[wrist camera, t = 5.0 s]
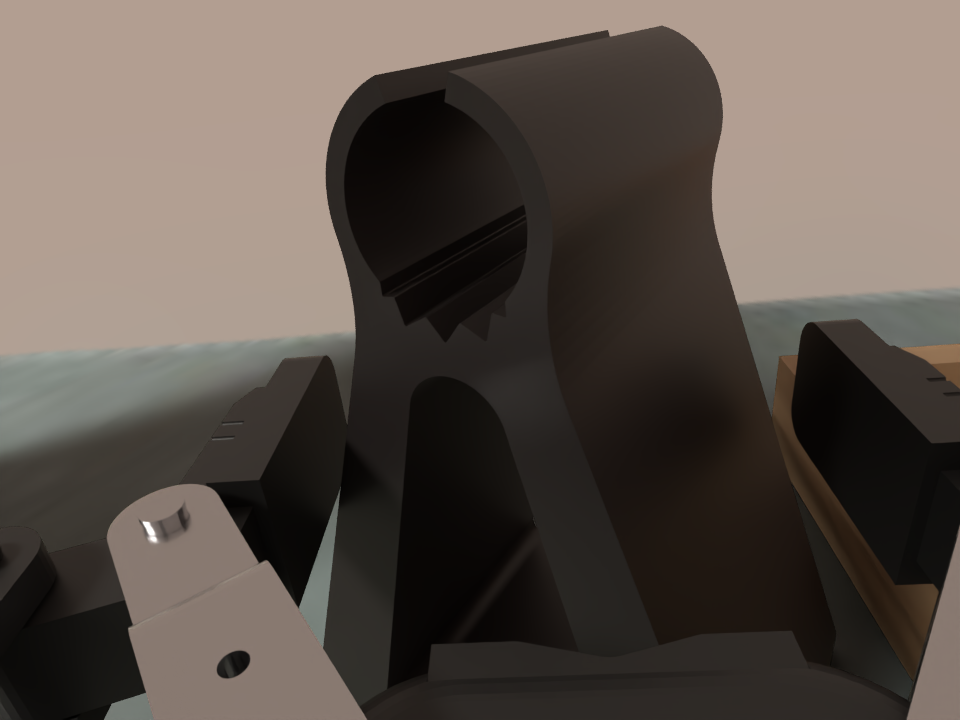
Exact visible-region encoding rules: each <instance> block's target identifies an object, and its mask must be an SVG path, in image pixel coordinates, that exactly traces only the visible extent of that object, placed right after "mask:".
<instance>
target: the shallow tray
mask: <svg viewBox="0 0 960 720" xmlns="http://www.w3.org/2000/svg"><path fill="white" fill-rule="evenodd" d="M901 349H903V350H905V351H907V352H909V353H912V354H914V355H916V356H918V357H921V358H923V359H925V360H926V361H928V362H929V363H930V364H931V365H932V366H933V367H935V368H936V369H937V370H938V371H939V372H941V373H942V374H943V375H944V376H945V377H946V381H951V382H952V383H954V384H955V385H956V386H957V387H958V388H960V344H951V345H936V346H922V347H907V348H901ZM797 360H798V355H790V356H779V364H778V372H777V380H776V388H775V397H774V405H773V413H772V421H773V425H774V428H775V431H776V435H777V438H778V441H779V444H780V448H781V451H782V454H783V458H784V461H785V464H786V468H787V471H788V474H789V478H790V480H791V482H792V483H793V485H794V487H795V488H796V490H797V492H798V493H799V495H800V497H801V498H802V500H803V502H804V503H805V505H806V507H807V508H808V510H809V511H810V513H811V515H812V516H813V518H814V520H815V521H816V523H817V525H818V526H819V528H820V530H821V531H822V533H823V535H824V536H825V538H826V540H827V541H828V543H829V544H830V546H831V548H832V549H833V551H834V553H835V554H836V556H837V558H838V559H839V561H840V563H841V564H842V566H843V568H844V569H845V571H846V572H847V574H848V576H849V577H850V579H851V581H852V582H853V584H854V586H855V587H856V589H857V591H858V592H859V594H860V596H861V597H862V599H863V601H864V602H865V604H866V605H867V607H868V609H869V610H870V612H871V614H872V615H873V617H874V619H875V620H876V622H877V624H878V625H879V627H880V629H881V630H882V632H883V634H884V635H885V637H886V638H887V640H888V642H889V643H890V645H891V647H892V648H893V650H894V652H895V653H896V655H897V657H898V658H899V660H900V662H901V663H902V665H903V666H904V668H905V670H906V671H907V673H908V675H909V676H910V678H911V680H912V681H913V680H914V676H915V673H916V669H917V666H918V662H919V659H920V655H921V652H922V648H923V645H924V641H925V638H926V634H927V631H928V627H929V624H930V620H931V617H932V613H933V610H934V606H935V603H936V600H937V596H938V593H939V591H938V590H937V589H936V587H935V586H934V585H933V584H915V585H895V584H894V582H893V581H892V579H891V578H890V577H889V575H888V574H887V572H886V571H885V569H884V568H883V566H882V565H881V563H880V562H879V560H878V559H877V557H876V556H875V554H874V553H873V551H872V550H871V548H870V547H869V545H868V544H867V542H866V541H865V539H864V538H863V536H862V535H861V533H860V532H859V530H858V529H857V527H856V526H855V524H854V523H853V522H852V520H851V519H850V517H849V516H848V514H847V513H846V511H845V510H844V508H843V507H842V505H841V504H840V502H839V501H838V499H837V498H836V496H835V495H834V493H833V492H832V490H831V489H830V487H829V486H828V484H827V483H826V481H825V480H824V478H823V477H822V475H821V474H820V472H819V471H818V469H817V468H816V467H815V465H814V464H813V462H812V461H811V459H810V458H809V456H808V455H807V453H806V452H805V450H804V449H803V447H802V446H801V444H800V443H799V441H798V439H797V437H796V435H795V432H794V428H793V423H792V416H791V405H792V397H793V389H794V382H795V375H796V367H797Z"/></svg>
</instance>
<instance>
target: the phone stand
mask: <svg viewBox="0 0 960 720" xmlns="http://www.w3.org/2000/svg"><path fill="white" fill-rule="evenodd" d="M722 120H723V110H722V98H721V93H720V89H719V85H718V82H717V79H716V76H715V74H714V72H713V70H712V68H711V66H710V64H709V62H708V61H707V59H706V58H705V56H704V55H703V54H702V52H701V51H700V50H699V49H698V48H697V47H696V46H695V45H694V44H693V43H692V42H691V41H690V40H688V39H687V38H686V37H684V36H683V35H681V34H680V33H678V32H676V31H674V30H672V29H670V28H667V27H664V26H659V27H654V28H649V29H645V30H640V31H635V32H631V33H626V34H622V35H617V36H612V37H610V36H609V32H608V30H606V31H601V32H595V33H591V34H585V35H580V36H575V37H570V38H565V39H559V40H554V41H549V42H544V43H539V44H534V45H528V46H523V47H518V48H513V49H508V50H503V51H497V52H493V53H487V54H482V55H477V56H472V57H467V58H461V59H456V60H451V61H446V62H441V63H436V64H430V65H426V66H420V67H415V68H410V69H405V70H400V71H394V72H389V73H384V74H379V75H375V76H373V77H371V78H370V79H368V80H367V81H366V82H365V83H363V84H362V85H361V86H360V87H358V89H357V90H356V91H355V92H354V93H353V94H352V95H351V96H350V97H349V99H348V100H347V102H346V103H345V104H344V106H343V108H342V110H341V111H340V113H339V115H338V117H337V120H336V122H335V124H334V127H333V130H332V133H331V137H330V141H329V146H328V152H327V161H326V190H327V199H328V205H329V210H330V215H331V219H332V223H333V226H334V229H335V233H336V236H337V239H338V241H339V245H340V248H341V251H342V254H343V258H344V261H345V265H346V269H347V273H348V277H349V281H350V287H351V292H352V298H353V305H354V313H355V327H356V349H355V361H354V370H353V379H352V388H351V398H350V407H349V416H348V425H347V434H346V444H345V453H344V462H343V471H342V480H341V490H340V499H339V508H338V517H337V526H336V536H335V545H334V554H333V563H332V572H331V582H330V591H329V600H328V609H327V618H326V628H325V637H324V646H323V649H324V651H325V653H326V654H327V656H328V657H329V659H330V661H331V662H332V664H333V665H334V667H335V669H336V670H337V672H338V673H339V675H340V677H341V678H342V680H343V682H344V683H345V685H346V686H347V688H348V690H349V691H350V693H351V694H352V696H353V698H354V699H355V701H356V702H357V704H358V706H360V705H362V704H363V703H365V702H366V701H368V700H369V699H371V698H372V697H374V696H375V695H377V694H379V693H381V692H383V691H385V690H387V689H389V688H391V687H393V686H394V685H397V684H399V683H402V682H404V681H407V680H409V679H412V678H414V677H418V676H421V675H424V674H428V670H429V662H430V653H431V644H456V643H482V642H508V641H519V642H525V643H530V644H536V645H541V646H547V647H552V648H557V649H563V650H568V651H574V652H579V653H585V654H590V655H595V656H601V657H618V656H623V655H626V654H630V653H634V652H637V651H641V650H645V649H648V648H652V647H656V646H659V645H663V644H667V643H670V642H674V641H678V640H681V639H685V638H689V637H692V636H696V635H700V634H718V633H744V632H770V631H792V632H793V634H794V636H795V639H796V641H797V643H798V645H799V647H800V649H801V652H802V654H803V656H804V658H805V660H806V661H808V662H813V663H818V664H822V665H825V666H829V667H830V662H831V657H832V653H833V648H834V643H835V639H836V630H835V627H834V624H833V620H832V617H831V614H830V610H829V607H828V604H827V600H826V597H825V594H824V590H823V587H822V584H821V580H820V577H819V574H818V570H817V567H816V564H815V561H814V557H813V554H812V551H811V547H810V544H809V541H808V537H807V534H806V531H805V527H804V524H803V521H802V517H801V514H800V511H799V507H798V504H797V501H796V498H795V494H794V491H793V488H792V484H791V481H790V478H789V474H788V471H787V468H786V464H785V461H784V458H783V454H782V451H781V448H780V444H779V441H778V438H777V435H776V431H775V428H774V425H773V421H772V418H771V415H770V411H769V408H768V405H767V401H766V398H765V395H764V391H763V388H762V385H761V381H760V378H759V375H758V372H757V368H756V365H755V362H754V358H753V355H752V352H751V348H750V345H749V342H748V338H747V335H746V332H745V328H744V325H743V322H742V318H741V315H740V312H739V309H738V305H737V302H736V299H735V295H734V292H733V289H732V285H731V283H730V279H729V275H728V272H727V269H726V266H725V262H724V259H723V256H722V252H721V249H720V246H719V242H718V238H717V235H716V230H715V225H714V220H713V212H712V176H713V167H714V162H715V156H716V152H717V148H718V144H719V140H720V135H721V130H722ZM533 516H534V519H535V522H536V525H537V527H536V526H535V524H534V521H533Z"/></svg>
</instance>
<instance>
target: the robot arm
mask: <svg viewBox="0 0 960 720" xmlns="http://www.w3.org/2000/svg"><path fill="white" fill-rule="evenodd" d="M791 416H792V423H793V428H794V432H795V435H796V437H797V439H798V441H799V443H800V444H801V446H802V447H803V449H804V450H805V452H806V453H807V455H808V456H809V458H810V459H811V461H812V462H813V464H814V465H815V467H816V468H817V469H818V471H819V472H820V474H821V475H822V477H823V478H824V480H825V481H826V483H827V484H828V486H829V487H830V489H831V490H832V492H833V493H834V495H835V496H836V498H837V499H838V501H839V502H840V504H841V505H842V507H843V508H844V510H845V511H846V513H847V514H848V516H849V517H850V519H851V520H852V522H853V523H854V524H855V526H856V527H857V529H858V530H859V532H860V533H861V535H862V536H863V538H864V539H865V541H866V542H867V544H868V545H869V547H870V548H871V550H872V551H873V553H874V554H875V556H876V557H877V559H878V560H879V562H880V563H881V565H882V566H883V568H884V569H885V571H886V572H887V574H888V575H889V577H890V578H891V579H892V581H893V582H894V584H895V585H915V584H933V585H934V586H935V587H936V589H937V590H938V591H939V593H938V596H937V600H936V603H935V606H934V610H933V613H932V617H931V620H930V624H929V627H928V631H927V634H926V638H925V641H924V645H923V648H922V652H921V655H920V659H919V662H918V666H917V669H916V673H915V676H914V680H913V683H912V687H911V690H910V694H909V697H908V700H906V699H904V698H902V697H901V696H899V695H897V694H895V693H894V692H892V691H890V690H888V689H886V688H884V687H882V686H880V685H878V684H875V683H873V682H871V681H869V680H867V679H864V678H862V677H859V676H856V675H854V674H851V673H848V672H846V671H843V670H840V669H836V668H833V667H829V666H825V665H822V664H818V663H813V662H808V661H806V660H805V658H804V656H803V654H802V652H801V649H800V647H799V645H798V643H797V641H796V639H795V636H794V634H793V632H792V631H770V632H744V633H718V634H700V635H696V636H692V637H689V638H685V639H681V640H678V641H674V642H670V643H667V644H663V645H659V646H656V647H652V648H648V649H645V650H641V651H637V652H634V653H630V654H626V655H623V656H618V657H601V656H595V655H590V654H585V653H579V652H574V651H568V650H563V649H557V648H552V647H547V646H541V645H536V644H530V643H525V642H519V641H508V642H482V643H456V644H431V653H430V662H429V670H428V674H424V675H421V676H418V677H414V678H412V679H409V680H407V681H404V682H402V683H399V684H397V685H394V686H393V687H391V688H389V689H387V690H385V691H383V692H381V693H379V694H377V695H375V696H374V697H372V698H371V699H369V700H368V701H366V702H365V703H363V704H362V705H360V706H358V704H357V702H356V701H355V699H354V698H353V696H352V694H351V693H350V691H349V690H348V688H347V686H346V685H345V683H344V682H343V680H342V678H341V677H340V675H339V673H338V672H337V670H336V669H335V667H334V665H333V664H332V662H331V661H330V659H329V657H328V656H327V654H326V653H325V651H324V649H323V648H322V646H321V644H320V643H319V641H318V640H317V638H316V636H315V635H314V633H313V632H312V630H311V628H310V627H309V625H308V623H307V622H306V620H305V619H304V617H303V615H302V614H301V612H300V611H299V606H300V603H301V600H302V597H303V594H304V591H305V588H306V585H307V583H308V580H309V577H310V574H311V571H312V568H313V565H314V562H315V559H316V556H317V553H318V550H319V548H320V545H321V542H322V539H323V536H324V533H325V530H326V527H327V524H328V521H329V518H330V516H331V513H332V510H333V507H334V504H335V501H336V498H337V495H338V492H339V489H340V486H341V480H342V471H343V462H344V453H345V444H346V434H347V424H346V419H345V415H344V410H343V406H342V401H341V396H340V392H339V387H338V383H337V378H336V374H335V370H334V366H333V363H332V361H331V359H330V358H329V357H328V356H327V355H326V356H312V357H298V358H285V359H284V360H283V361H282V362H281V364H280V365H279V367H278V369H277V370H276V372H275V373H274V375H273V376H272V378H271V380H270V381H269V383H268V384H267V386H266V387H259V388H255V389H254V390H253V391H251V392H250V393H248V394H247V395H246V396H244V397H243V398H242V399H240V400H239V401H238V402H236V403H235V404H234V405H233V406H232V408H231V409H230V411H229V412H228V414H227V415H226V417H225V418H224V420H223V421H222V426H219V427H218V428H217V430H216V431H215V433H214V434H213V436H212V441H209V442H208V443H207V445H206V446H205V448H204V449H203V450H202V452H201V453H200V455H199V456H198V458H197V459H196V461H195V462H194V464H193V465H192V467H191V468H190V470H189V471H188V472H187V474H186V475H185V477H184V478H183V480H182V481H181V483H180V484H179V485H176V486H171V487H167V488H164V489H161V490H158V491H155V492H153V493H150V494H148V495H146V496H144V497H142V498H140V499H139V500H137V501H135V502H134V503H132V504H131V505H129V506H128V507H127V508H126V509H124V510H123V511H122V512H121V513H120V514H119V515H118V516H117V517H116V518H115V519H114V521H113V522H112V524H111V525H110V528H109V530H108V533H107V538H105V539H101V540H98V541H94V542H90V543H86V544H82V545H79V546H75V547H71V548H67V549H64V550H60V551H56V552H52V553H48V551H47V549H46V547H45V545H44V543H43V541H42V540H41V538H40V536H39V534H38V533H37V532H36V531H34V530H33V529H30V528H27V527H20V526H17V527H5V528H0V720H104V718H105V716H106V714H107V712H108V710H109V708H110V706H111V704H112V703H115V702H118V701H121V700H124V699H128V698H131V697H134V696H137V695H140V694H143V693H146V694H147V697H148V701H149V704H150V707H151V711H152V714H153V718H154V720H960V388H958V387H957V386H956V385H955V384H954V383H952V382H951V381H946V377H945V376H944V375H943V374H942V373H941V372H939V371H938V370H937V369H936V368H935V367H933V366H932V365H931V364H930V363H929V362H928V361H926V360H925V359H923V358H921V357H918V356H916V355H914V354H912V353H909V352H907V351H905V350H903V349H901V348H898V347H896V346H889V345H888V344H886V343H885V342H884V341H883V340H882V339H881V338H880V337H879V336H877V335H876V334H875V333H874V332H873V331H872V330H871V329H870V328H868V327H867V326H866V325H865V324H864V323H863V322H862V321H860V320H858V319H850V320H836V321H822V322H809V323H807V324H806V325H805V327H804V328H803V331H802V334H801V338H800V345H799V353H798V360H797V367H796V375H795V382H794V389H793V397H792V405H791Z"/></svg>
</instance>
